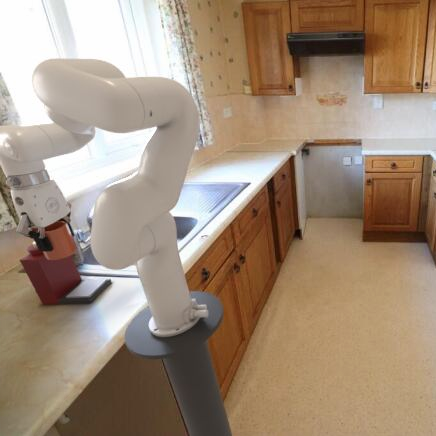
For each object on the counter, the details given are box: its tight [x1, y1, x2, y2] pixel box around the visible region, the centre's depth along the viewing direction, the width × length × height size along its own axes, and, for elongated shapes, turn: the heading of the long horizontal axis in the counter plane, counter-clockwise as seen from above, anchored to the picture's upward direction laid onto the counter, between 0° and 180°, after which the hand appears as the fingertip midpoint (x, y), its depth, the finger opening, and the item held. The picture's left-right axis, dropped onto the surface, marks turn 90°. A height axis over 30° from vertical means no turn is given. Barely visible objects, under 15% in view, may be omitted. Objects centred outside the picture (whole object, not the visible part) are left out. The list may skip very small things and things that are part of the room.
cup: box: [36, 221, 78, 260], centre depth 84 cm, size 7×7×8 cm
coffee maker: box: [58, 278, 113, 305], centre depth 94 cm, size 9×10×15 cm
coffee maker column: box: [19, 244, 83, 306], centre depth 94 cm, size 6×10×17 cm, turn 179°
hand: (57, 243), depth 85 cm, fingers closed on cup, 6 cm apart
